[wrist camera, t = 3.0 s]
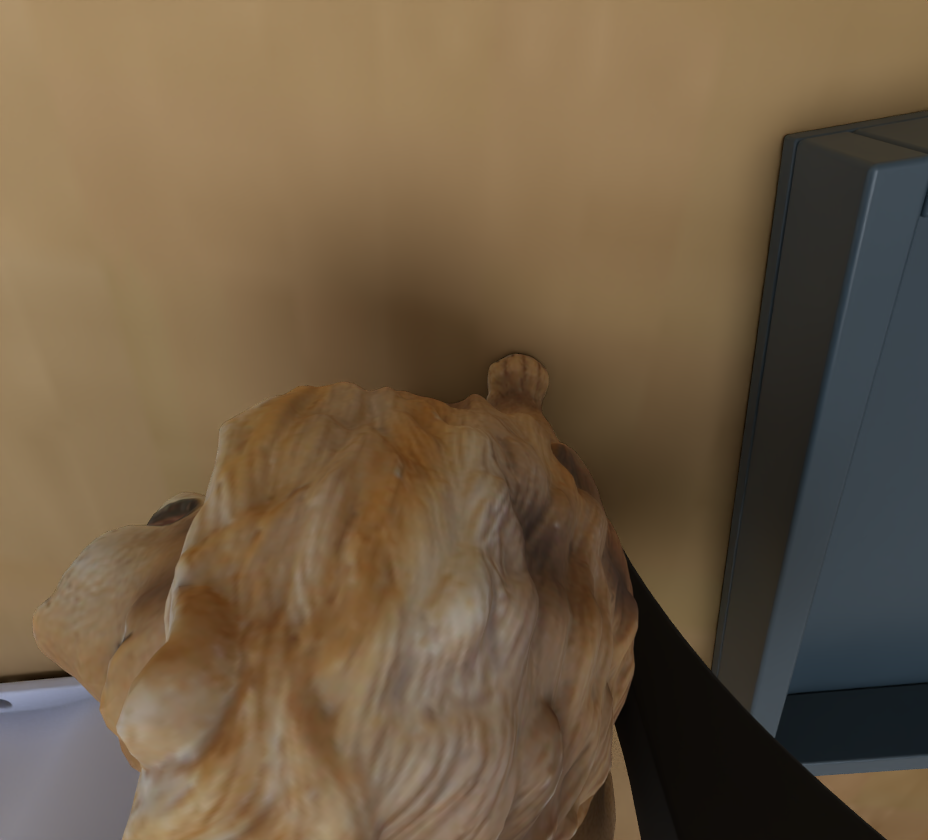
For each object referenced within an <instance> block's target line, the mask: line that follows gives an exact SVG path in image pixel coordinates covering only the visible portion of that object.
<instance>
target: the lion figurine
mask: <svg viewBox="0 0 928 840" xmlns="http://www.w3.org/2000/svg"><path fill="white" fill-rule="evenodd" d="M487 381H488V390H489V394H488V396H487V400H486V399H485V398H483V397H482V396H480V395H478V394H472V395H470V396H469V397H468V398H466V399H465V400H463V401H461V402H458V403H448V404H445V403H444V402H442V401H439V400H436V399H433V398H429V397H422V396H417V395H415V394H412V393H410V392H407V391H395V390H393V389H391V388H390V387H388V386H387V387H382V388H379V389H377V390H374V391H366V390H364V389H363V388H361V387H359V386H357V385H356V384H353V383H350V382H339V383H335V384H331V385H327V386H322V387H313V386H298V387H296V388H295V389H293V390H291V391H290V392H288V393H286V394H284V395H278V396H272V397H269V398H267V399H265V400H263V401H261V402H259V403H258V404H256V405H254V406H252V407H251V408H249V409H247V410H246V411H244V412H242V413H240V414H239V415H237V416H235V417H233V418H232V419H230V420H228V421H226V422H225V423H224V424H222V426H221V428H220V430H219V447H218V452H217V457H216V462H215V466H214V470H213V473H212V476H211V479H210V482H209V486H208V489H207V493H206V496H204V495H201V494H197V493H191V492H184V493H178V494H177V495H175V496H174V497H172V498H170V499H169V500H167V501H166V502H165V503H164V504H163V505H162V506H161V507H160V508H159V510H158V511H157V512H156V513H155V514H154V515H153V516H152V518H151V519H150V521H149V522H148V524H147V525H128V526H125V527H121V528H118V529H114V530H111V531H107V532H106V533H104V534H102V535H101V536H99V537H98V538H96V539H95V540H94V541H92V542H91V543H90V544H89V545H88V546H87V547H86V548H85V549H84V550H83V551H82V552H81V553H80V555H79V556H78V557H77V558H76V560H75V561H74V562H73V563H72V564H71V566H70V567H69V568H68V569H67V571H66V572H65V573H64V574H63V576H62V578H61V580H60V582H59V584H58V586H57V588H56V589H55V591H54V593H53V595H52V596H51V597H50V598H48V599H47V600H46V601H45V602H44V603H42V604H41V605H40V606H39V607H38V608H37V609H36V610H35V612H34V615H33V635H34V638H35V641H36V643H37V646H38V648H39V649H40V650H41V651H42V652H43V653H44V654H45V655H46V656H47V657H48V658H49V659H51V660H52V661H53V662H54V663H56V664H57V665H58V666H59V667H61V668H62V669H63V670H64V671H66V672H67V673H69V674H70V675H72V676H73V677H75V678H76V680H77V681H78V682H79V683H80V684H81V685H82V686H83V687H84V688H85V689H86V690H87V691H88V692H89V693H90V694H91V695H92V696H93V697H94V698H95V699H96V700H97V701H98V702H100V708H99V710H100V713H101V715H102V717H103V719H104V721H105V724H106V726H107V728H108V729H110V730H111V731H112V732H113V733H114V734H115V735H116V736H117V737H118V739H119V743H120V746H121V750H122V752H123V754H124V756H125V757H126V759H127V761H128V762H129V764H130V766H131V767H132V768H134V769H135V770H137V771H138V772H140V776H139V779H138V784H137V788H136V792H135V796H134V800H133V805H132V809H131V813H130V816H129V819H128V822H127V825H126V828H125V831H124V834H123V838H122V840H613V838H614V830H615V822H616V815H615V799H614V791H613V783H612V776H611V772H610V768H611V766H612V758H611V747H612V735H613V725H614V723H615V721H616V719H617V717H618V715H619V713H620V711H621V709H622V707H623V705H624V703H625V700H626V697H627V694H628V691H629V688H630V684H631V681H632V678H633V675H634V667H635V663H634V651H633V646H634V638H635V635H636V632H637V629H638V606H637V603H636V601H635V599H634V597H633V589H632V584H631V580H630V576H629V571H628V566H627V561H626V558H625V555H624V552H623V549H622V546H621V543H620V540H619V538H618V535H617V533H616V531H615V529H614V527H613V526H612V524H611V522H610V520H609V519H608V518H607V517H606V514H605V510H604V507H603V505H602V502H601V499H600V496H599V493H598V490H597V487H596V484H595V482H594V479H593V477H592V475H591V474H590V472H589V470H588V469H587V467H586V466H585V465H584V463H583V462H582V460H581V459H580V458H579V456H578V455H577V453H576V451H574V450H573V449H571V448H570V447H568V446H567V445H565V444H562V443H560V442H559V440H558V439H557V437H556V435H555V433H554V431H553V429H552V427H551V425H550V424H549V422H548V421H547V420H546V418H545V417H544V416H543V414H542V409H541V406H542V401H543V398H544V396H545V393H546V391H547V388H548V386H549V375H548V372H547V370H546V368H545V367H544V366H543V365H542V364H540V363H539V362H538V361H537V360H535V359H534V358H532V357H530V356H526V355H522V354H511V355H508V356H507V357H505V358H503V359H501V360H498V361H496V362H494V363H493V364H492V365H491V366H490V368H489V371H488V380H487Z"/></svg>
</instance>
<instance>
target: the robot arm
mask: <svg viewBox="0 0 928 840" xmlns="http://www.w3.org/2000/svg"><path fill="white" fill-rule="evenodd" d="M622 549H623V548H622ZM623 552H624V555H625V558H626V561H627V566H628V571H629V576H630V580H631V584H632V589H633V597H634V599H635V601H636V603H637V606H638V629H637V632H636V635H635V638H634V646H633V651H634V663H635V667H634V675H633V678H632V681H631V684H630V688H629V691H628V694H627V697H626V700H625V703H624V705H623V707H622V709H621V711H620V713H619V715H618V717H617V719H616V721H615V723H614V724H615V727H616V731H617V734H618V738H619V741H620V745H621V748H622V752H623V755H624V760H625V764H626V768H627V772H628V776H629V780H630V785H631V790H632V795H633V800H634V805H635V810H636V815H637V820H638V826H639V831H640V836H641V840H887V839H885V838H884V837H883V836H882V835H881V834H880V833H878V832H877V831H876V830H875V829H874V828H872V827H871V826H870V825H869V824H868V823H866V822H865V821H864V820H863V819H862V818H861V817H859V816H858V815H857V814H856V813H855V812H854V811H853V810H852V809H850V808H849V807H848V806H847V805H846V804H845V803H844V802H842V801H841V800H840V799H839V798H838V797H837V796H836V795H835V794H833V793H832V792H831V791H830V790H829V789H828V788H827V787H825V786H824V785H823V784H822V783H821V782H820V781H819V780H818V779H817V778H816V777H815V776H814V775H813V774H812V773H811V772H810V771H808V770H807V769H806V768H805V767H804V766H803V765H802V764H801V763H800V762H799V761H798V760H797V759H796V758H795V757H794V756H793V755H792V754H791V753H790V752H788V751H787V750H786V749H785V748H784V747H783V746H782V745H781V744H780V743H779V742H778V741H777V740H776V739H775V738H774V737H773V736H772V735H771V734H770V733H769V732H768V731H767V730H766V729H765V728H764V727H763V726H762V725H761V724H760V723H759V722H758V721H757V720H756V719H755V718H754V717H753V716H752V715H751V714H750V713H749V712H748V711H747V710H746V709H745V708H744V707H743V706H742V705H741V703H740V702H739V701H738V700H737V699H736V698H735V697H734V696H733V695H732V694H731V693H730V691H729V690H728V689H727V688H726V687H725V686H724V685H723V684H722V683H721V682H720V680H719V679H718V678H717V677H716V676H715V675H714V674H713V672H712V671H711V670H710V669H709V668H708V667H707V665H706V664H705V663H704V662H703V661H702V659H701V658H700V657H699V656H698V655H697V653H696V652H695V651H694V650H693V648H692V647H691V646H690V645H689V643H688V642H687V641H686V640H685V639H684V637H683V636H682V635H681V633H680V632H679V631H678V630H677V628H676V627H675V626H674V624H673V623H672V622H671V620H670V619H669V618H668V616H667V615H666V613H665V612H664V611H663V609H662V608H661V607H660V605H659V604H658V602H657V601H656V600H655V598H654V597H653V596H652V594H651V593H650V591H649V590H648V588H647V587H646V585H645V584H644V582H643V581H642V579H641V578H640V576H639V574H638V573H637V571H636V570H635V568H634V567H633V565H632V563H631V562H630V560H629V558H628V557H627V555H626V553H625V551H624V550H623ZM99 708H100V702H98V701H97V700H96V699H95V698H94V697H93V696H92V695H91V694H90V693H89V692H88V691H87V690H86V689H85V688H84V687H83V686H82V685H81V684H80V683H79V682H78V681H77V680H76V678H75V677H73V676H71V677H61V678H51V679H40V680H30V681H19V682H9V683H0V840H122V838H123V834H124V831H125V828H126V825H127V822H128V819H129V816H130V813H131V809H132V805H133V800H134V796H135V792H136V788H137V784H138V779H139V776H140V772H138V771H137V770H135V769H134V768H132V767H131V766H130V764H129V762H128V761H127V759H126V757H125V756H124V754H123V752H122V750H121V746H120V743H119V739H118V737H117V736H116V735H115V734H114V733H113V732H112V731H111V730H110V729H108V728H107V726H106V724H105V721H104V719H103V717H102V715H101V713H100V710H99Z"/></svg>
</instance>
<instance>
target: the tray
mask: <svg viewBox="0 0 928 840" xmlns="http://www.w3.org/2000/svg"><path fill="white" fill-rule="evenodd" d="M712 672H713V674H714V675H715V676H716V677H717V678H718V679H719V680H720V682H721V683H722V684H723V685H724V686H725V687H726V688H727V689H728V690H729V691H730V693H731V694H732V695H733V696H734V697H735V698H736V699H737V700H738V701H739V702H740V703H741V705H742V706H743V707H744V708H745V709H746V710H747V711H748V712H749V713H750V714H751V715H752V716H753V717H754V718H755V719H756V720H757V721H758V722H759V723H760V724H761V725H762V726H763V727H764V728H765V729H766V730H767V731H768V732H769V733H770V734H771V735H772V736H773V737H774V738H775V739H776V740H777V741H778V742H779V743H780V744H781V745H782V746H783V747H784V748H785V749H786V750H787V751H788V752H790V753H791V754H792V755H793V756H794V757H795V758H796V759H797V760H798V761H799V762H800V763H801V764H802V765H803V766H804V767H805V768H806V769H807V770H808V771H810V772H811V773H812V774H813V775H814V776H821V775H836V774H850V773H865V772H879V771H894V770H908V769H923V768H928V111H922V112H916V113H910V114H905V115H899V116H893V117H887V118H882V119H876V120H870V121H864V122H859V123H853V124H847V125H841V126H836V127H830V128H824V129H818V130H813V131H807V132H801V133H795V134H789V135H787V136H785V138H784V146H783V153H782V160H781V168H780V175H779V182H778V190H777V197H776V204H775V211H774V219H773V226H772V233H771V241H770V248H769V255H768V263H767V270H766V277H765V285H764V292H763V299H762V306H761V314H760V321H759V328H758V336H757V343H756V350H755V358H754V365H753V372H752V380H751V387H750V394H749V401H748V409H747V416H746V423H745V431H744V438H743V445H742V453H741V460H740V467H739V475H738V482H737V489H736V496H735V504H734V511H733V518H732V526H731V533H730V540H729V548H728V555H727V562H726V570H725V577H724V584H723V591H722V599H721V606H720V613H719V621H718V628H717V635H716V643H715V650H714V657H713V665H712Z"/></svg>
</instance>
